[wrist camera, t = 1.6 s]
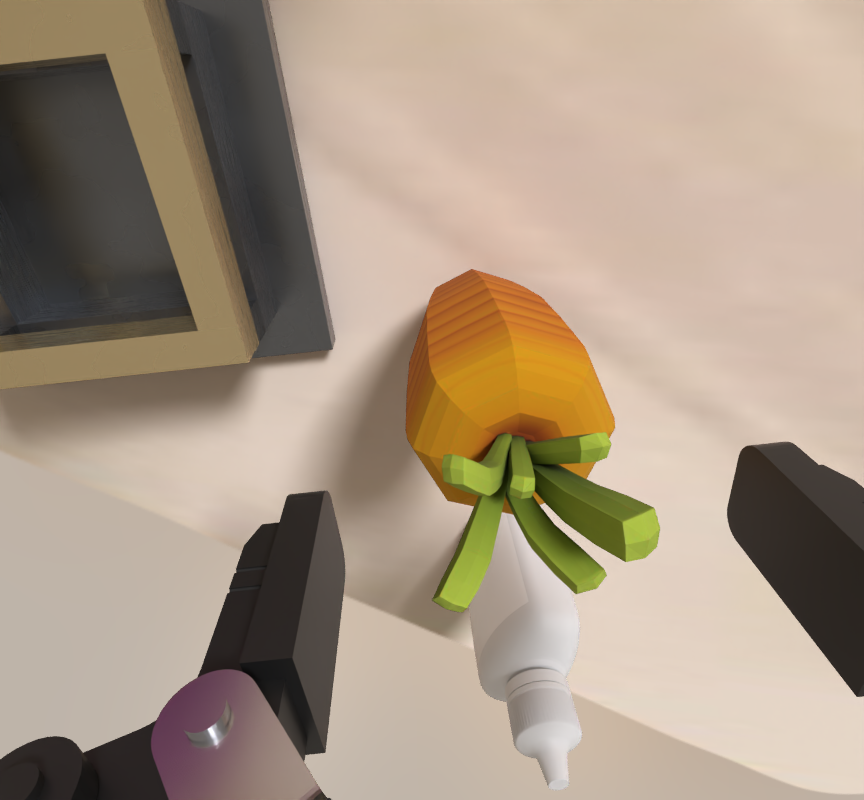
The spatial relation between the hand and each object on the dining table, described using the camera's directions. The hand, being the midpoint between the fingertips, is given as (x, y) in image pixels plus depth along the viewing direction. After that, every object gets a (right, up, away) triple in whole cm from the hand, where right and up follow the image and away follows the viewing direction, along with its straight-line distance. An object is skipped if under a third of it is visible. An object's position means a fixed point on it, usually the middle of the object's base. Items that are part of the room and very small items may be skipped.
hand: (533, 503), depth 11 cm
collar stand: (-13, +9, +8) cm, 18 cm away
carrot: (-1, +7, +11) cm, 13 cm away
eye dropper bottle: (+2, -5, +18) cm, 18 cm away
